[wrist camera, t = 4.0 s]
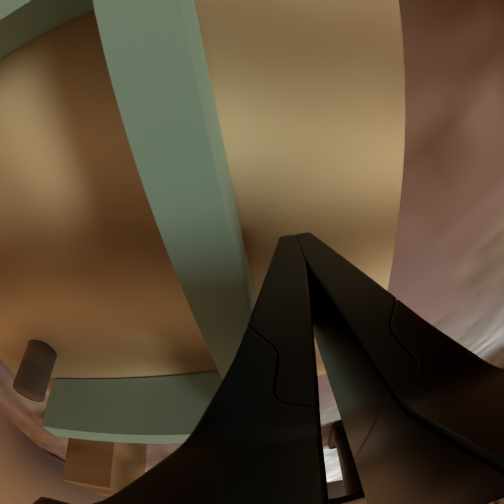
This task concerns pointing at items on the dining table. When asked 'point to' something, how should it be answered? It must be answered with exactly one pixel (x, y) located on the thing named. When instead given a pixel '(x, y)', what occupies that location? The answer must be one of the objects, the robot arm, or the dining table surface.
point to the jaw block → (103, 464)
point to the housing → (159, 207)
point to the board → (240, 168)
